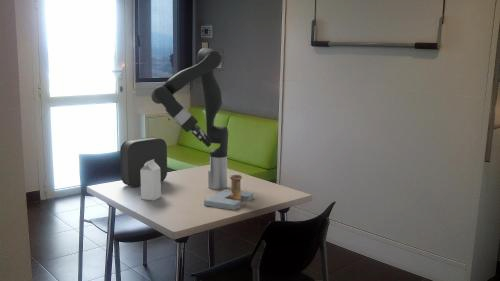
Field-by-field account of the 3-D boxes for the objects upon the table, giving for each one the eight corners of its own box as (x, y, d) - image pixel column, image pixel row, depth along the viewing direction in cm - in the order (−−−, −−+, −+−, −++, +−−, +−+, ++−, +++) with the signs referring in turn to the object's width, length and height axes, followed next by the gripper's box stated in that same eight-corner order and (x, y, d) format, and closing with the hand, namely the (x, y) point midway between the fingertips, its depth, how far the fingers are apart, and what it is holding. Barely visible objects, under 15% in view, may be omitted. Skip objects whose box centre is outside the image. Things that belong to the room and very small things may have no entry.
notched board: (204, 205, 227) (204, 200, 227) (225, 193, 247) (225, 188, 246) (234, 210, 221) (234, 204, 220) (253, 197, 240) (253, 192, 240)
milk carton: (161, 197, 239) (160, 159, 236) (153, 201, 233) (152, 162, 230) (148, 195, 242) (147, 158, 238) (141, 199, 235) (140, 161, 232)
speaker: (128, 189, 252) (127, 142, 248) (119, 186, 258) (118, 140, 254) (167, 181, 270) (166, 137, 266) (158, 178, 276) (157, 135, 272)
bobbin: (228, 203, 231) (228, 176, 229) (233, 200, 236) (233, 174, 234) (238, 204, 229) (238, 178, 226) (243, 201, 234) (243, 175, 231)
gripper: (190, 116, 217) (215, 141, 220) (192, 112, 231) (215, 136, 234) (178, 127, 218) (204, 152, 221) (181, 123, 232) (205, 146, 235)
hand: (210, 144), depth 227 cm, fingers open, 8 cm apart
